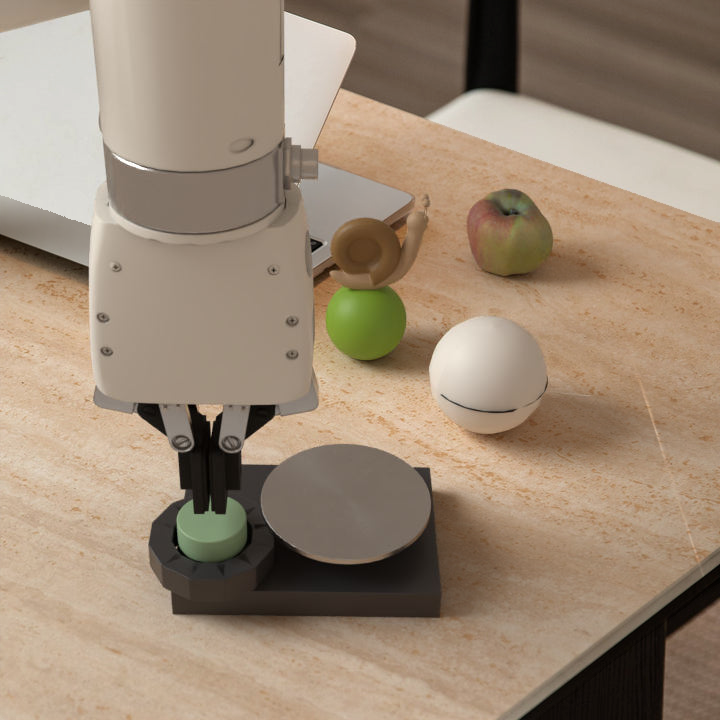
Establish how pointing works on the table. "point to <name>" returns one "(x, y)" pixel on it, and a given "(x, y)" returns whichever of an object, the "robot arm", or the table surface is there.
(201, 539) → the tare button
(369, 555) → the weighing pan
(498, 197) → the apple
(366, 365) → the table surface
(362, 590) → the scale
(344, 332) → the snail figurine
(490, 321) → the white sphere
